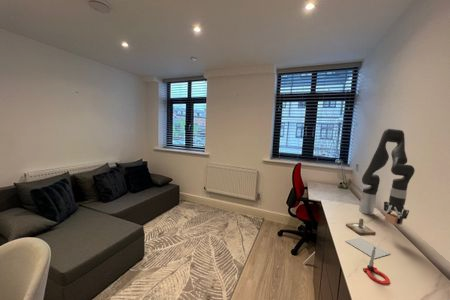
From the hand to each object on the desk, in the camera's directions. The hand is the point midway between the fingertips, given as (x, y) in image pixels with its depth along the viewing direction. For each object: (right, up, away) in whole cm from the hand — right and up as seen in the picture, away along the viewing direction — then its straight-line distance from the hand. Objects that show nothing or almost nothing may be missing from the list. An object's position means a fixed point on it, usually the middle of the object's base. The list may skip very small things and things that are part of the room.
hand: (393, 221), depth 123 cm
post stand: (-13, -10, +11) cm, 20 cm away
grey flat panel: (-18, -13, -12) cm, 25 cm away
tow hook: (-36, -14, -33) cm, 50 cm away
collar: (0, -1, 0) cm, 1 cm away
